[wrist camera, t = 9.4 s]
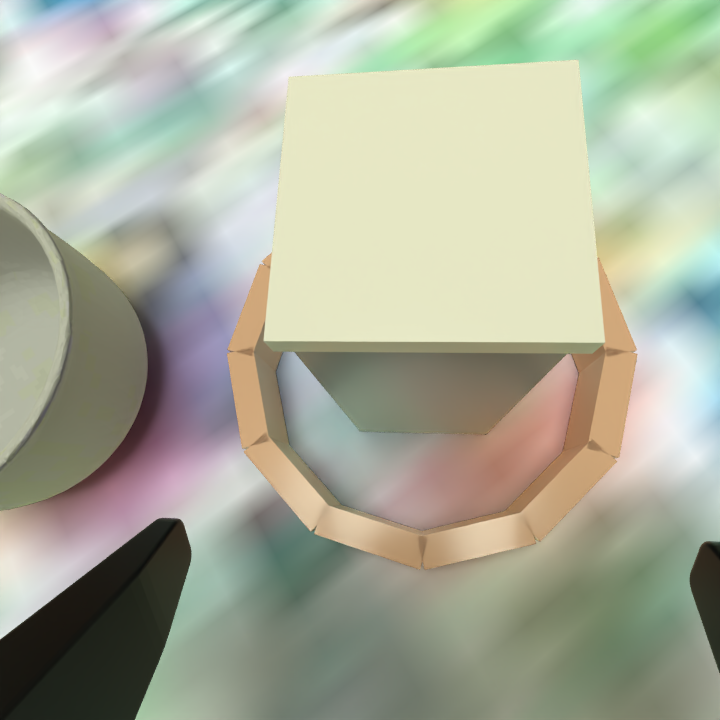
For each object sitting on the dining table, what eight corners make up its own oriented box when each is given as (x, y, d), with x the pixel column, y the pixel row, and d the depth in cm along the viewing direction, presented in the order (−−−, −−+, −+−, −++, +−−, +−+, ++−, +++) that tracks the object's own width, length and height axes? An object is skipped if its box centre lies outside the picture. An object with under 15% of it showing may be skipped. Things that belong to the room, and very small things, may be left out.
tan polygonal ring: (657, 504, 18) (701, 504, 16) (290, 591, 19) (267, 606, 16) (533, 187, 22) (550, 141, 20) (234, 266, 23) (207, 233, 20)
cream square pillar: (491, 439, 20) (605, 342, 8) (355, 436, 20) (263, 341, 8) (487, 311, 21) (578, 59, 9) (360, 311, 22) (289, 76, 10)
